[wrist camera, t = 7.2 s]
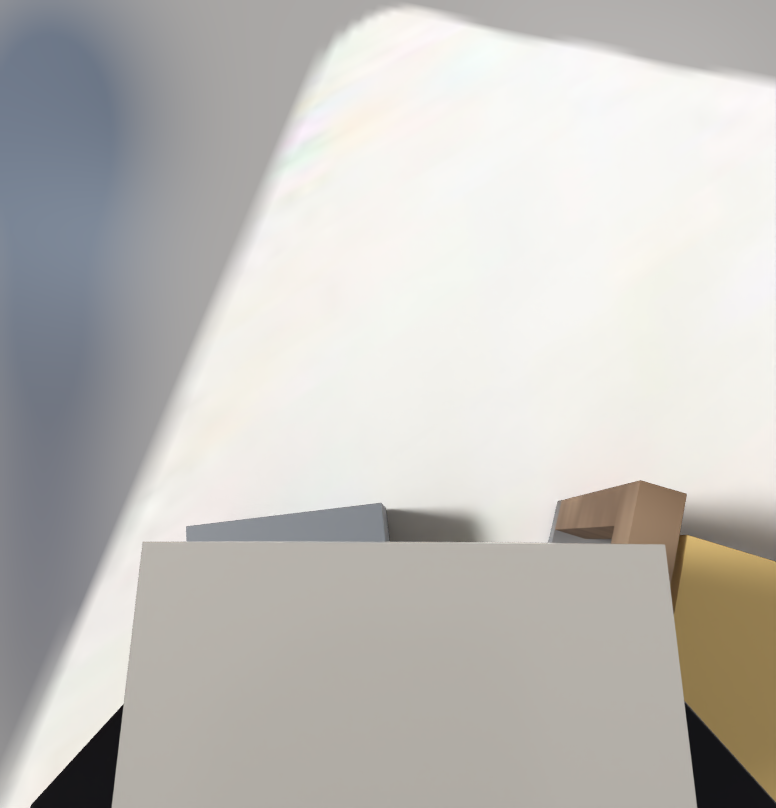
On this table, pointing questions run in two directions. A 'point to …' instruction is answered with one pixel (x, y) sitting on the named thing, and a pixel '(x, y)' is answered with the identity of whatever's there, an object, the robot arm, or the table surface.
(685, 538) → the trapdoor
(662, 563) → the grey upright block
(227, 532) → the plinth
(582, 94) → the table surface
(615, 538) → the frame
